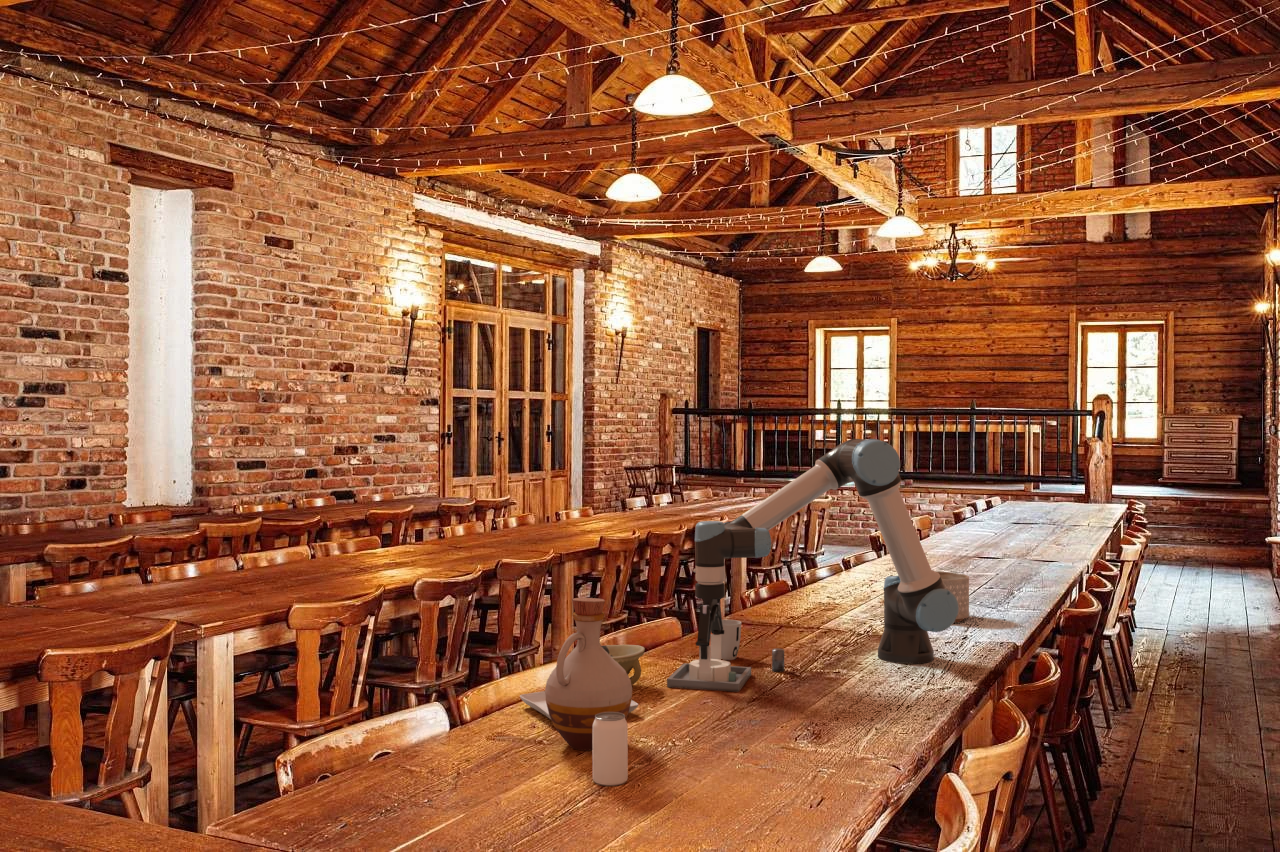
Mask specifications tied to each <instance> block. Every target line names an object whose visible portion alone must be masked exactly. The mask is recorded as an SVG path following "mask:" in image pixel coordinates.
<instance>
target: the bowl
mask: <svg viewBox="0 0 1280 852" xmlns="http://www.w3.org/2000/svg"><path fill="white" fill-rule="evenodd" d="M601 647H602V648H603V649H604V650H605V651H606V652H607V653H608V654H609V655H610V656H611V657H612V658H613V659H614V660H615V661H616V662H617V663H618V664H619V665H620V666H621V667H622V668H623V669H624V670H625V671H626V673H627V675H628V676H629V675H630V673H631V672H632V670H633V671H634V672H633V674H632V676H631V677H630V676H629V678H630V680H631V685H632V686H633V685H634V684H636V683H637V682H638V681H639V680H640V678H641V675H642V667H641V663H640V660H639V659H640V658H641V657H642V656H643V655H644V653H645V650H646V648H645V647H644V646H641V645H637V644H636V645H635V644H608V645H605V644H604V645H601Z"/></svg>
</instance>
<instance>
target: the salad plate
mask: <svg viewBox="0 0 1280 852" xmlns="http://www.w3.org/2000/svg"><path fill="white" fill-rule="evenodd" d="M519 698H520V699H521V701H522V702H523V703H524V704H525V705H527V706H528V707H531V708H532V709H533V710H535V711H537V712H539V713H540V714H542V715H543V716H545V717H547V718H548V719H549V720H551V718H550V715H549V712H548V708H547V704H546V697H545V690H543V691H542V690H541V691H537V692H536V691H535V692H530V693H524V694H523V693H522V694H520V695H519ZM638 707H639V703H637V702H636V701H634V700H633V699H632V700H631V704H630V709H629V713H631V712H633V711H634V710H636V709H637V708H638Z"/></svg>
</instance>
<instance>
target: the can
mask: <svg viewBox="0 0 1280 852" xmlns="http://www.w3.org/2000/svg"><path fill="white" fill-rule="evenodd" d="M628 731H629V730H628V722H627V719H626V720H625V715H624V714H622V713H619V712H602V713H598V714H596V715H595V720H594V722H593V733H592V750H591V751H592V781H593V782H594V783H595V784H596V785H599V786H602V787H616V786H621V785H624V784H625V783H626V782H627V781H628V777H629V776H628V775H629V773H628V765H629V764H628V763H629V762H628V761H629V760H628V759H629V757H628V755H629V753H628V751H629V749H628V748H629V747H628V746H629V745H628V743H629V741H628Z"/></svg>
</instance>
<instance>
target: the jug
mask: <svg viewBox="0 0 1280 852" xmlns="http://www.w3.org/2000/svg"><path fill="white" fill-rule="evenodd" d="M571 601H572V605H573V609H574V612H572V618H573V620H574V621H575V625H576V632H573V633H572V634H570V635H569V636H568V637H567V638H566V639H565V641H564V643H563V644H562V646H561V649H560V651H559V653H558V656H557V659H556V667H555V668H554V669H553V670H552V671H551V673H550V674H549V676H548V677H547V680H546V684H545V689H544V691H545V697H546V704H547V708H548V712H549V715H550V718H551V719H550V720H551V723H552V725H553V727H554V728H555V729H556V730H557V733H558V734H559V735H560V736H561V737H562V739H564V741H565V742H566V744H567V745H568V746H569V747H570V748H572V749H574V750H578V751H592V733H593V722H594V720H595V715H596V714H598V713H602V712H619V713H622V714H624V715H625V720H626V721H627V719H628V715H629V713H630V712H629V709H630V704H631V700H632V701H633V699H632V698H633V696H632V695H633V687H632V686H633V684H632V685H631V680H630V676H629V674H628V675H627V673H626V671H625V670H624V669H623V668H622V667H621V666H620V665H619V664H618V663H617V662H616V661H615V660H614V659H613V658H612V657H611V656H610V655H609V654H608V653H607V652H606V651H605V650H604V649H603V648H602V647H601V646H602V644H601V641H600V640H601V629H602V628H601V627H602V622H603V620H604V618H605V612H603V610H604V605H605V602H606V600H605V599H603V598H596V597H594V598H593V597H575V598H572V600H571ZM576 641H577V642H576ZM574 642H576V646H575V647H574V648H573V650H571V651H570V652H569V650H570V648H571V646H572V645H573V643H574ZM568 652H569V654H568ZM567 654H568V655H567Z"/></svg>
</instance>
